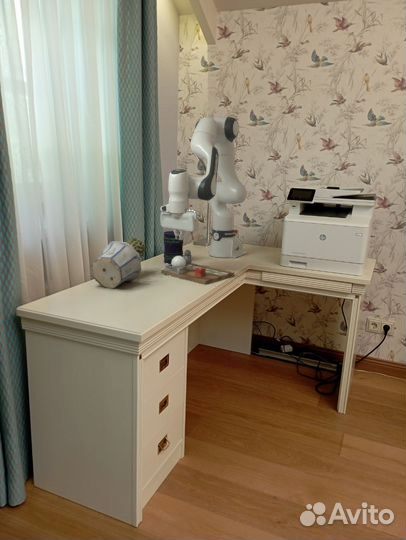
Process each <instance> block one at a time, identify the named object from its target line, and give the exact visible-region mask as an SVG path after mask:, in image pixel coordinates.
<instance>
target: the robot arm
mask: <svg viewBox="0 0 406 540" xmlns="http://www.w3.org/2000/svg"><path fill="white" fill-rule="evenodd" d="M239 129H240V126H239V121H238V120H237V119H236V118H235V117H232V116H225V117H224V116H215V117H211V116H204V117H201V118H200V119H199V120H198V121H197V122H196V123H195V126H194V131H193V133H192V136H191V139H190V144H189V145H190V150H191V152H192V153H193V154H194V156H195V157H197V158H198V159H201V160H204V161H205V162H206V163H207V164H206V171H205V175H203V176H190V175H189V173H188V170H187V169H182V168H180V169H179V168H178V169H173V170H171V171H170V172H169V175H168V184H167V185H168V187H167V188H168V195H169V196H168V197H169V198H168V203H167V204H164V205H161V206H160V207H159V209H160V217H159V219H160V221H159V222H160V226H161V227H162V228H163V229H172V230H173V231H174V233H175V235H176V239H177V240H183V241H184V235H185V234H186V232H190V233H191V232H192V233H195V232H198V231H199V219H198V213H197V212H196V210H195V209H190V200H201V201H206V202H207V203H208V205H209V207H210V210H211V214H212V230H211V236H212V237H211V240H210V248H209V251H208V253H209V256H211V257H215V258H223V259H225V258H231V259H232V258H233V259H235V258H236V259H237V258H238V257H241V256H244V255H247V254H248V251H246V250H244V245H243V242H242V241H241V240H240V239H239V238H238V237H237V236H236V234H239V230H238V229H234V223H235V215H234V214H233V212H232V211H230V209H229V208H228V206H227V204H229V205H230V204H231V205H238V204H243V202H245V200H246V199H247V196H248V190H247V188H246V186H245V185H244V184H243V183H242V182H241V181H240V179H239V177H238V174H237V172H236V161H235V160H236V159H235V158H236V157H235V156H236V155H235V153H236V151H235V150H236V149H235V142H234V140H235V139H236V138H237V137H238V135H239V132H240V131H239ZM218 176H219V177H220V181H217V178H218ZM178 231H180V232H181V233H180V235H179V232H178Z"/></svg>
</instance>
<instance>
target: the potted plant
mask: <svg viewBox="0 0 406 540" xmlns="http://www.w3.org/2000/svg"><path fill="white" fill-rule="evenodd" d="M145 252H146V244H145V243H144V242H143V240H141V239H138V238H136V237H134V238H132V237H131V239H127V241H126V242H125V241H111V242H109V243H108V244H107V245H106V247H104V248H103V249H102V254H101V255H99V256H98V257H97V258H96V259H95V260H94V261H93V263H92V264H91V265H90V267H91V273H92V275H91V276H92V278H93V279H94V281H96V282H97V283H98V285H100V286H102V287H103V288H105V287H106V289H115V288H117V287H118V286H120V285H121V284H122V283H124V282H133V281H135V279H136V278H137V277H138V276H139V275H140V274H141V272H142V261H141V258H142V257H143V256H144V255H145Z"/></svg>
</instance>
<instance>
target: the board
mask: <svg viewBox="0 0 406 540" xmlns="http://www.w3.org/2000/svg"><path fill="white" fill-rule="evenodd" d="M191 264H192V265H189V264H186V265H185V267H180V268H177V267H173V266H172V264H164V269H161V271H160V273H162V275H165V274H166V275H165V276H169V275H170V277H173V278H177V279H182V280H185V281H189V282H193V283H196V284H201V285H208V284H209V285H210V284H212V283H216V282H218V281H222V280H225V279H230V278H232V277H235V272H233V271H230V270H229V271H228V270H225V269H220V268H215V267H210V266H205V265H200V264H198V263H192V262H191Z"/></svg>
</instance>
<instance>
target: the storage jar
mask: <svg viewBox="0 0 406 540" xmlns="http://www.w3.org/2000/svg"><path fill="white" fill-rule="evenodd" d="M178 232H179V235H180V233H181V232H180V231H178ZM163 247H164V251H163V263H164V264H166V263H168V264H171V262H172V259H173V258H174V257H176V256H182V257H183V258H184V250H183V249H184V248H183V247H184V239H183V240H177V239H176V235H175V233H174V230H168V231H164V232H163ZM168 264H167V265H168Z"/></svg>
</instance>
